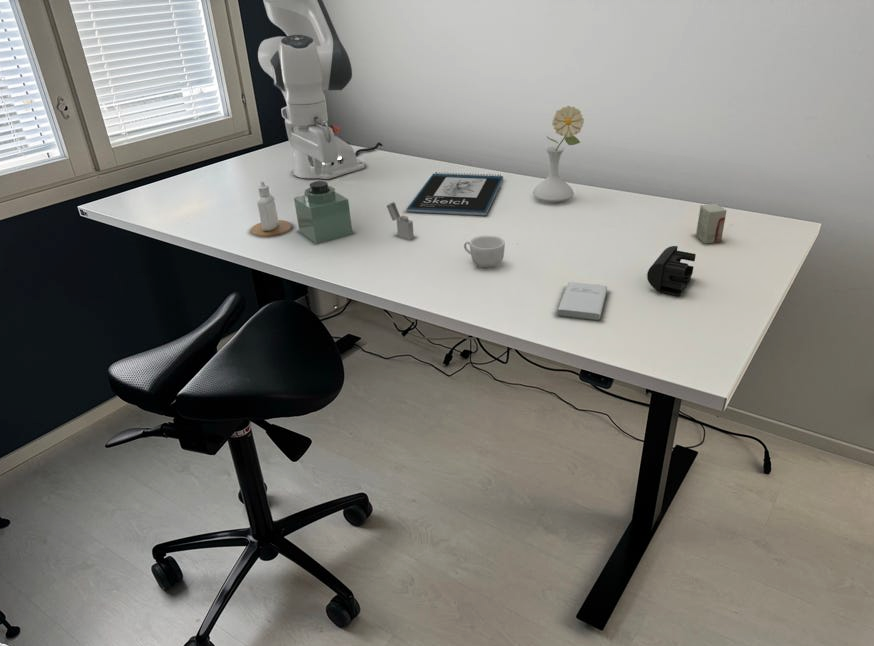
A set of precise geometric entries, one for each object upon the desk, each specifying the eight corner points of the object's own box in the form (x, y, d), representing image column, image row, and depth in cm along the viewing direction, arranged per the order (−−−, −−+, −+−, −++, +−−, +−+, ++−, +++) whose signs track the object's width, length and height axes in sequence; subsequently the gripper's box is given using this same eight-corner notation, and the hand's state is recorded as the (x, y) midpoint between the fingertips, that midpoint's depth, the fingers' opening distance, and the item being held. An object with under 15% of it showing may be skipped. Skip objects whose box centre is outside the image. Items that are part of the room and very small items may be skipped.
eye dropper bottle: (285, 225, 175) (276, 180, 168) (267, 232, 171) (258, 186, 164) (274, 222, 177) (266, 177, 170) (256, 228, 173) (247, 183, 167)
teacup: (510, 261, 154) (511, 239, 151) (494, 274, 148) (493, 251, 146) (473, 253, 158) (472, 231, 156) (455, 265, 153) (454, 243, 150)
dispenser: (334, 222, 177) (329, 181, 171) (352, 233, 170) (347, 191, 164) (299, 231, 173) (292, 189, 167) (316, 243, 166) (309, 200, 160)
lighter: (414, 237, 167) (412, 206, 163) (409, 239, 166) (407, 208, 162) (393, 231, 171) (390, 200, 167) (388, 233, 170) (385, 202, 166)
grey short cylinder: (324, 187, 168) (322, 179, 167) (331, 192, 165) (330, 184, 164) (307, 191, 166) (306, 183, 165) (315, 196, 163) (314, 188, 162)
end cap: (659, 272, 147) (663, 243, 144) (692, 278, 144) (697, 249, 140) (644, 290, 140) (648, 260, 136) (678, 298, 137) (683, 267, 133)
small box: (721, 242, 160) (727, 210, 155) (704, 244, 159) (710, 212, 155) (711, 234, 164) (717, 203, 159) (694, 236, 163) (700, 204, 159)
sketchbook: (407, 213, 182) (406, 205, 181) (434, 177, 207) (433, 171, 206) (485, 216, 178) (485, 208, 177) (503, 180, 203) (503, 173, 202)
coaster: (282, 219, 180) (282, 217, 180) (297, 230, 173) (297, 228, 173) (246, 228, 175) (245, 226, 175) (260, 240, 169) (260, 237, 168)
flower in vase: (526, 203, 185) (529, 108, 172) (538, 190, 194) (542, 99, 180) (573, 208, 181) (579, 111, 167) (583, 194, 190) (590, 101, 176)
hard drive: (557, 316, 132) (567, 288, 142) (599, 321, 130) (606, 292, 140) (557, 308, 131) (567, 281, 141) (600, 313, 129) (607, 285, 139)
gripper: (340, 119, 150) (348, 181, 157) (302, 104, 164) (310, 161, 172) (314, 124, 147) (323, 186, 154) (278, 108, 161) (287, 166, 169)
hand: (316, 173), depth 163 cm, fingers closed
